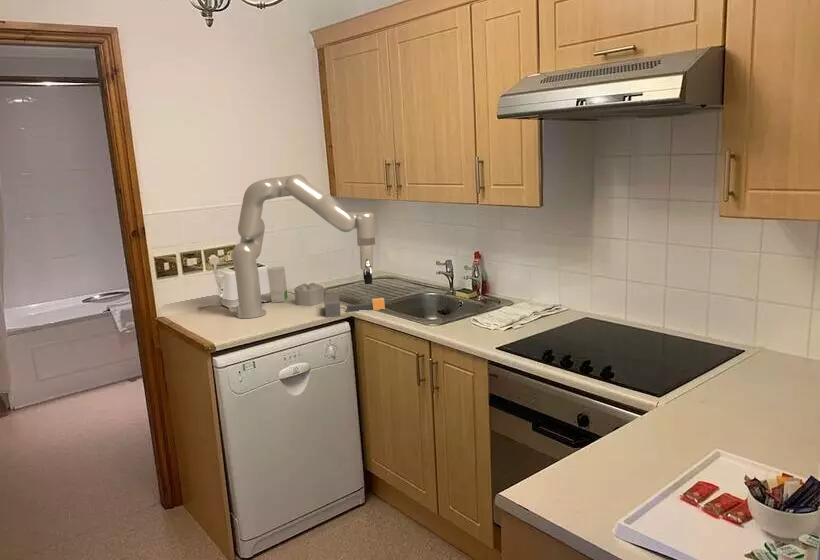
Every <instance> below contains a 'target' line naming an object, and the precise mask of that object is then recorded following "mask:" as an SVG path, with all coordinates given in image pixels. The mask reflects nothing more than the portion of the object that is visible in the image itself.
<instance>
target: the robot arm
mask: <svg viewBox="0 0 820 560" xmlns="http://www.w3.org/2000/svg"><path fill="white" fill-rule="evenodd" d="M244 191H245V192H244V194H243V199H242V202H241V203H242V204H241V209H240V215H239V221H238V224H237V225H238V226H237V232H238V234H239V236H240V240H239V241H240V242H239V243H238V244H236V245H235V246H234V248H233V250H232V253H231V259H232V263H233V269H234V274H235V281H236V291H237V298H238V299H237V300H238V305H237V306H231V307H228V310H229V311H228V312H231V313H236V317H237V318H238V319H255V318H258V317H263V316H266V314H267V310H266V309H265V308H263V304H262V303H263V302H262V293H261V284H260V275H259V268H258V265H257V259H258V258H259V256H260V255H261V252H262V247H263V241H264V235H265V230H266V229H265V227H266V226H265V222H264V220H263V219H262V214H263V208H264V207H263V206H264V203H265V201H268V200H269V201H270V200H273V199H276V198H283V197H291V196H292V198H295V199H296V200H297V201H299V202H301V204H303V205H305V206H306V207H308V208H309V209H311V210H312V211H313V212H314V213H315V214H316V215H318V216H320V217H321V218H322V219H323V220H325V221H326V222H327V223H328V224H330V225H331V226H333V227H334V228H335V229H337V230H339V231H340V232H343V233H349V232H351V231H352V230H354V229H356V239H357V241H356V242H357V247H359V258H360V259H359V260H360V261H359V262H360V269H361V270H362V271H363V275H362V277H363V280H364V285H372V284H373V273H372V270H373V264H374V253H373V252H374V251H373V250H374V249H373V248H374V247H375V246H376V228H375V214H374V213H373V212H370V211H366V212H365V211H363V212H362V211H361V212H353V211H352V212H351V211H344V210H342V208H340V207H338V206H337V205H336V204H335V203H334V202H332V200H330V198H329V196H328V195H327V194H326V193H325V192H323V191H322V190H320V189H319V188H317V187H316V186H314V185H313V184H312V183H310V182H309V181H308V180H307V178H306V177H305V176H304V175H302V174H293V175H287V176H279V177H270V178H264V179H262V180H257V181H255V182H253V183H251V184H250V185H249V186H247V188H246V190H244Z"/></svg>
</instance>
